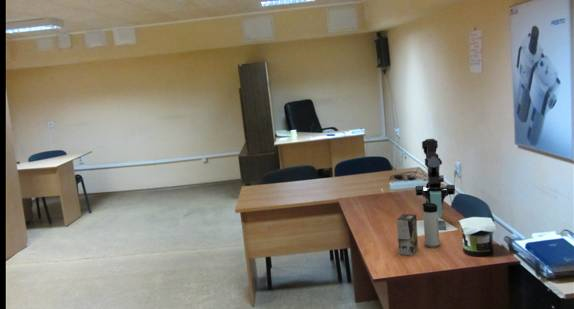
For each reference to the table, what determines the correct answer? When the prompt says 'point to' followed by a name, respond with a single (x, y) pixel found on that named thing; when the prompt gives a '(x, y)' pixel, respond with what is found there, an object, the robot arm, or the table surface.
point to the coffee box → (407, 234)
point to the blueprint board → (448, 228)
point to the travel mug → (431, 225)
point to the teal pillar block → (436, 201)
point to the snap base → (441, 225)
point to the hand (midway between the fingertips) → (436, 205)
